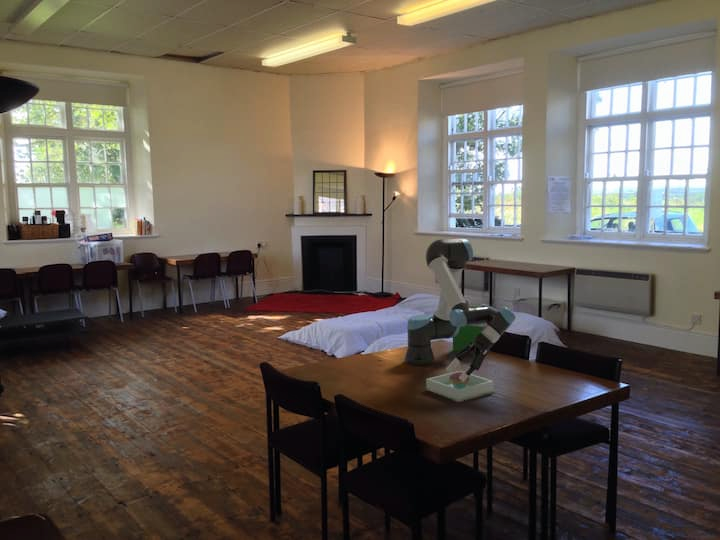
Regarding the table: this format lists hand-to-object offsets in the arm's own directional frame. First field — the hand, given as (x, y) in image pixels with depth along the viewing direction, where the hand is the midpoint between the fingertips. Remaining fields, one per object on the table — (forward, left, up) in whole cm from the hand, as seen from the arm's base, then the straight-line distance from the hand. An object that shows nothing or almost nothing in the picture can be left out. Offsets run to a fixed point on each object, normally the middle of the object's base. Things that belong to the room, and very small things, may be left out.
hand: (454, 375), depth 260 cm
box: (+1, +2, -7) cm, 8 cm away
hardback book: (-45, +54, -7) cm, 71 cm away
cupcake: (+1, +2, -6) cm, 7 cm away
